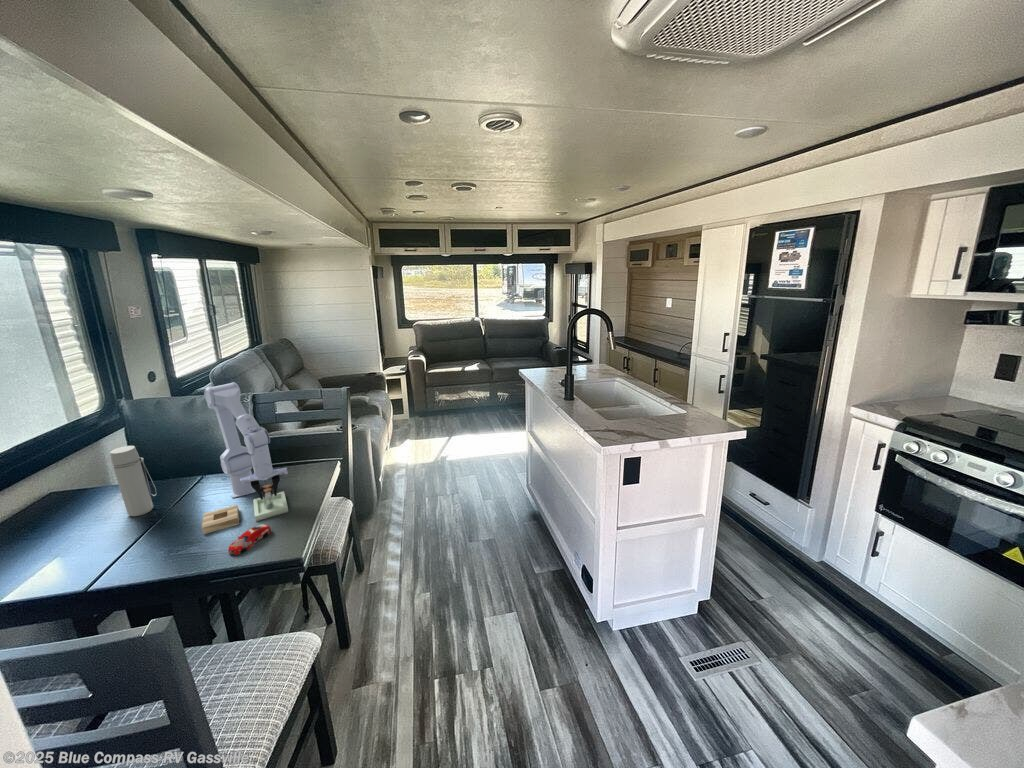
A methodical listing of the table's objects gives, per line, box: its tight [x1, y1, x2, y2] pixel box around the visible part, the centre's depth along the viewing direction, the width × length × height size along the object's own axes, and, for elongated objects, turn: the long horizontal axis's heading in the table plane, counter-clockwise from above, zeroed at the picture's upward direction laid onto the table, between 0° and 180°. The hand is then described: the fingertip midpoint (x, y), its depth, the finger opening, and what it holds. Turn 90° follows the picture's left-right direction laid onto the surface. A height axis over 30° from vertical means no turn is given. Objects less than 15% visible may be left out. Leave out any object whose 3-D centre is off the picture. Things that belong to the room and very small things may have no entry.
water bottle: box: [109, 445, 157, 517], centre depth 146 cm, size 9×8×25 cm
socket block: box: [201, 504, 240, 535], centre depth 142 cm, size 10×10×2 cm
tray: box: [252, 490, 289, 522], centre depth 150 cm, size 13×10×2 cm
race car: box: [227, 523, 272, 556], centre depth 131 cm, size 13×5×4 cm, turn 159°
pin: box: [260, 484, 274, 509], centre depth 149 cm, size 4×4×8 cm
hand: (268, 496), depth 149 cm, fingers closed on pin, 4 cm apart
